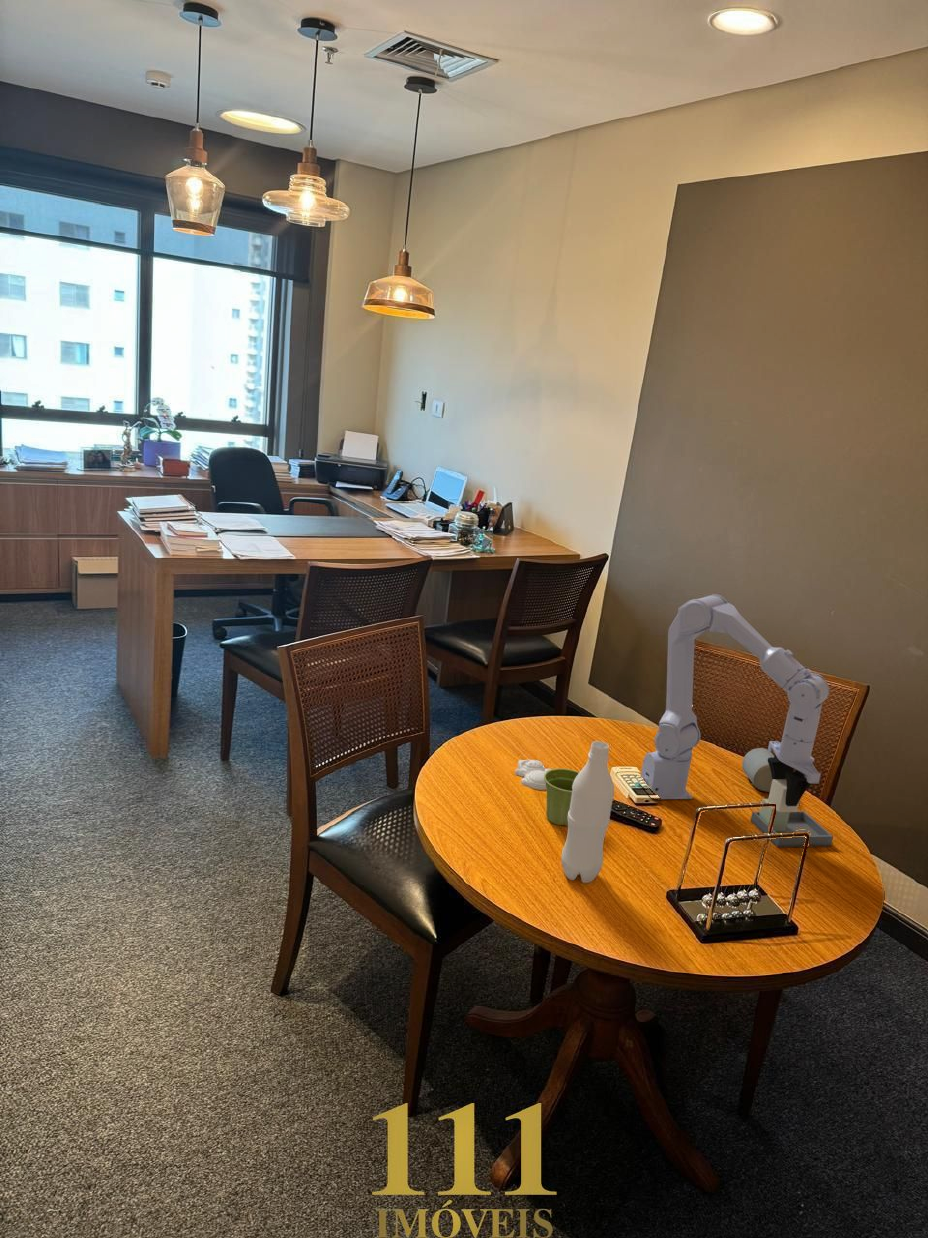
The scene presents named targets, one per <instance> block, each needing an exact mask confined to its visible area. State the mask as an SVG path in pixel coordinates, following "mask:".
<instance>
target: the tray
mask: <svg viewBox="0 0 928 1238" xmlns="http://www.w3.org/2000/svg"><path fill="white" fill-rule="evenodd" d="M759 813H760V810H758V811H752V813H751V817H750V823H752V824H753V826H755V827H756V828H757V829H758V830H759V831H760V832H761V833H762V834H763V833H768V827H769V825H768V824H767V823H766V822H765V821H764V820H763V819H762V818H761V817H760V816H759ZM798 829H806V830H798ZM796 830H798V831H796ZM808 830H809V831H810V832H808ZM793 832H808V833H809V834H810V833H811V835H810V836H809V848H811V847H813V846H814V847H816V846H818V847H831V846H832V843H833V839H834V835H833V834H831V833H830V832H829V831H828V830H827V829H825V828H824V827H823V826H822V825H821V824H820V823H819V822H817V820H815V819H814V818H813V817H812V816H811V815H809V814H808V813H807V812H806V811H805V810H797V812H790V814H789V818H788V822H787V827H786V831H775V830H773V829H772V831H771V833H774V834H775V833H793ZM805 839H806V838H805V837H792V838H776V839H771V840H769V841H770V842H771V843H772V844H773V845H774V846H775V848H804V847H803V845H804V843H805ZM810 846H811V847H810ZM814 847H813V848H814Z"/></svg>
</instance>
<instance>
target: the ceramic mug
mask: <svg viewBox="0 0 928 1238" xmlns="http://www.w3.org/2000/svg"><path fill="white" fill-rule="evenodd" d="M774 756H775V755H774V753H773V752H770V751H769V750H768V748H763V747H759V748H753V749H751V750H750V751H748V752H747V753H746V754H745V755H744V757H743V759H742V764H741V766H742V771H743V773H744V774H746V776H747V778H748V779H749V780H750V781H751V783H752V785H753V786H754V787H755V788H757V789H758V790H759V791H761V792H765V793H770V789H771V784H772V775H771V770H770V766H769V763H768V758H770V757H774Z"/></svg>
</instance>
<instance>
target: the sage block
mask: <svg viewBox="0 0 928 1238" xmlns="http://www.w3.org/2000/svg"><path fill="white" fill-rule="evenodd" d="M763 803H768V798H762V801H761V804H763ZM759 811H760V813H759V816H760V817H761V818H762V819H763V820H764V821H765V822H766V823H767V824H768V825H769V824H770V820H771V816H772V812H773V808H772V807H762V808H761V807H760V809H759ZM789 814H790V812H778V811H777V810H776V815H775V819H774V823H773V830H775V831H786V827H787V822H788V818H789Z"/></svg>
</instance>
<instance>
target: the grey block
mask: <svg viewBox="0 0 928 1238" xmlns="http://www.w3.org/2000/svg"><path fill="white" fill-rule="evenodd" d="M786 792H787V781H786V779H773V780H772V784H771V789H770V792H769V795H768V797H767V799H768V803H769V804H776V810H777V811H778V812H797V811H799V809H798V808H799V805H800V801H799V802H798V804H797V806H787V805H786Z"/></svg>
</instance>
